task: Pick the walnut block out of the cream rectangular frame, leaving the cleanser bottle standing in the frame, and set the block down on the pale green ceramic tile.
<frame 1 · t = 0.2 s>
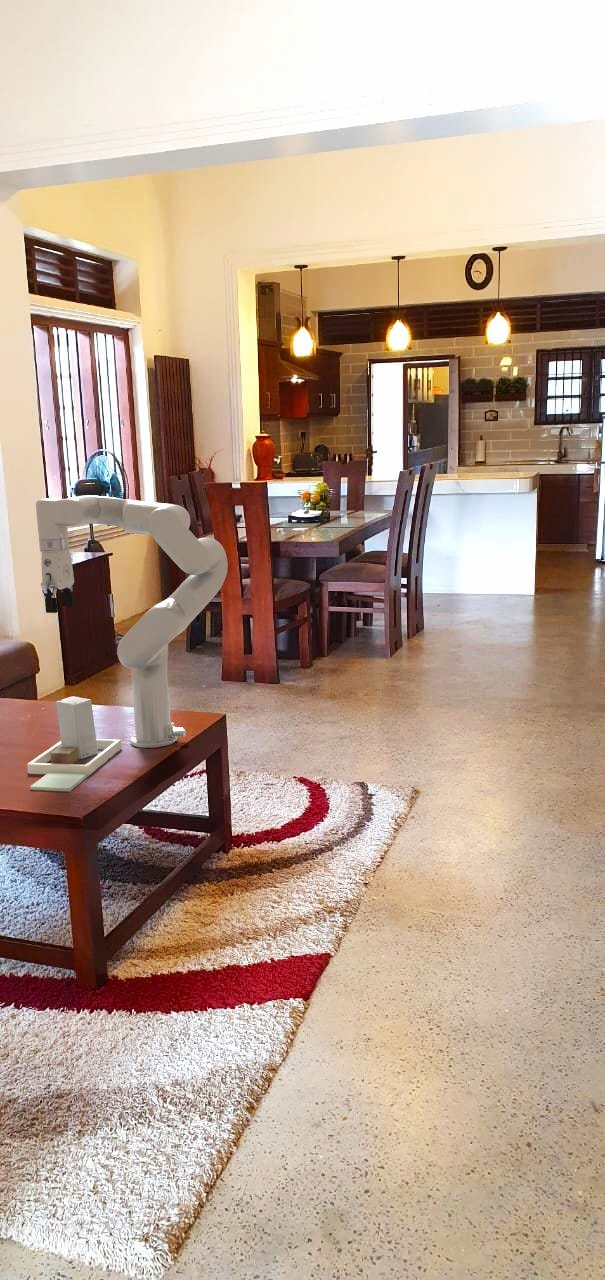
hand: (59, 609, 256), 36 cm above the table, tool pointing down, fingers open, 9 cm apart
walnut block: (66, 769, 239), resting in cream rectangular frame
skincare box: (79, 755, 250), resting in cream rectangular frame
cream rectangular frame: (76, 760, 245), on the table
tile: (59, 783, 229), on the table
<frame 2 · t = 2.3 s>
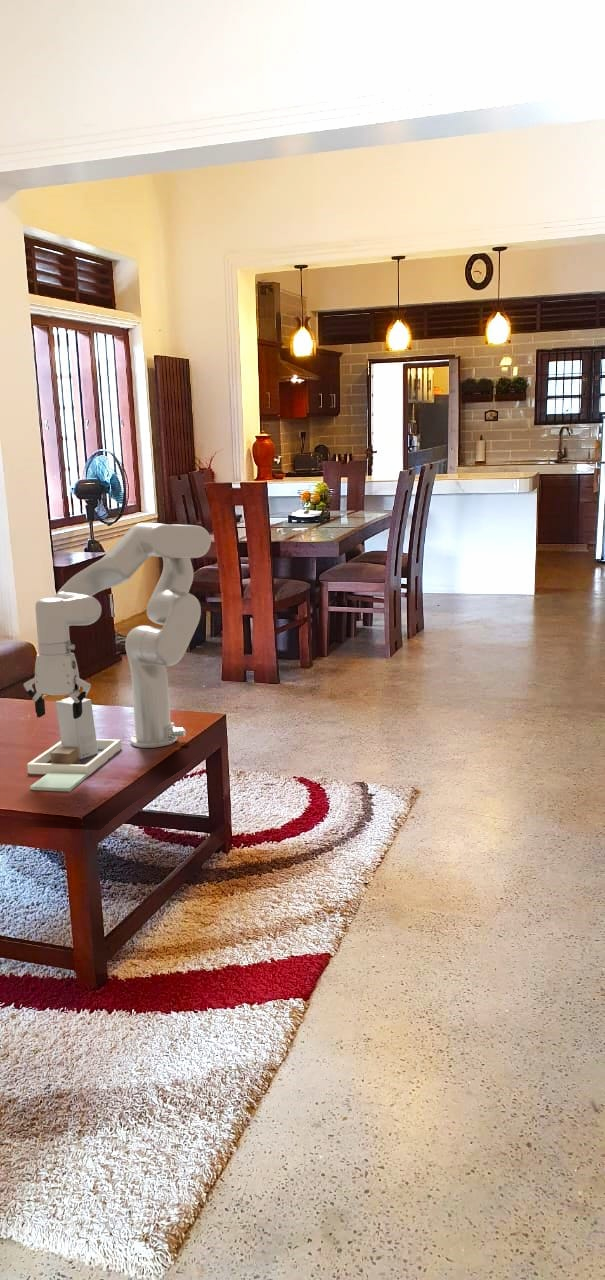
hand: (59, 716, 236), 14 cm above the table, tool pointing down, fingers open, 9 cm apart
nothing on the table moved.
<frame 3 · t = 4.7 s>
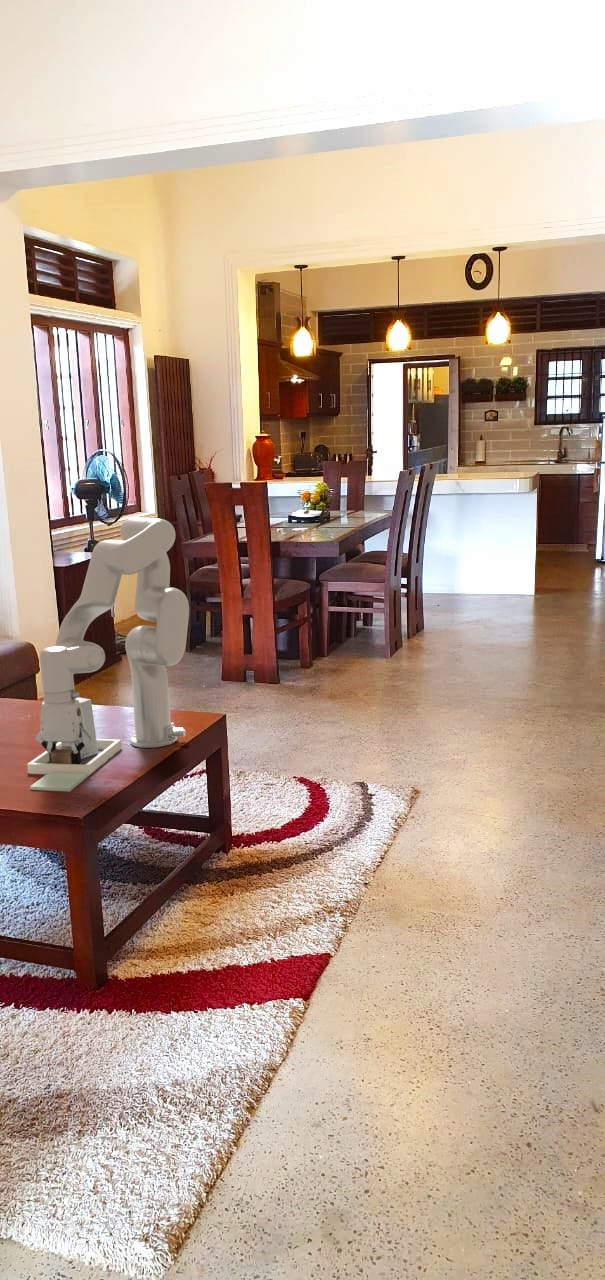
hand: (65, 766, 239), 1 cm above the table, tool pointing down, fingers closed on walnut block, 5 cm apart
walnut block: (66, 768, 239), resting in cream rectangular frame, touching gripper
everything else where it was.
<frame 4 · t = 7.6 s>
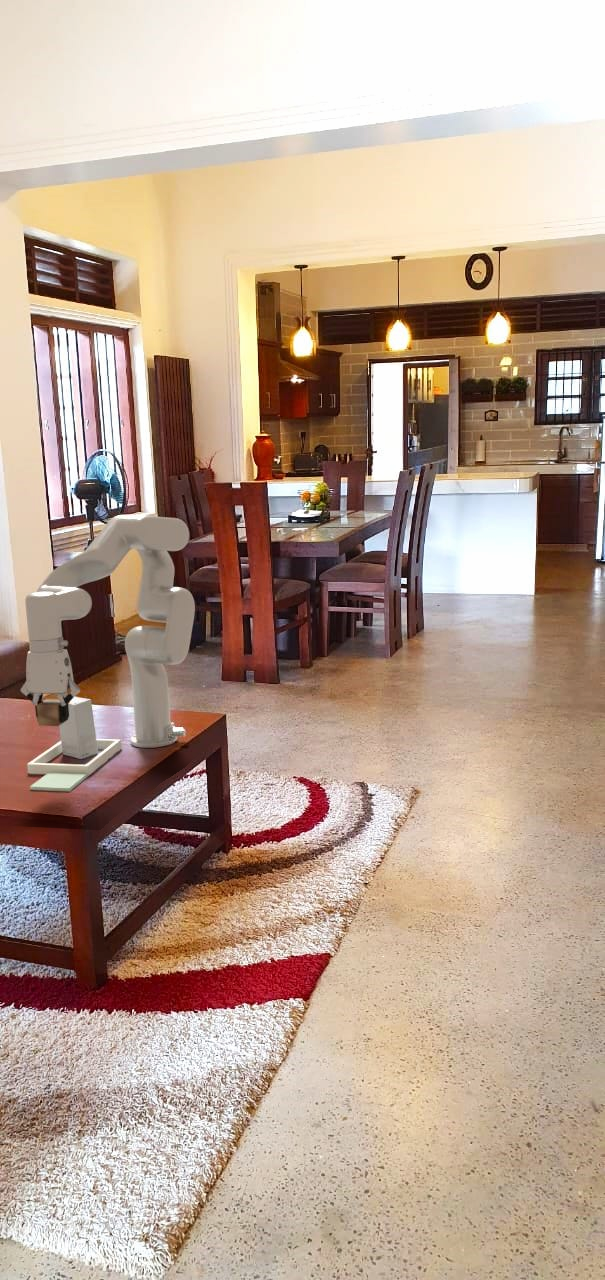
hand: (52, 719, 226), 16 cm above the table, tool pointing down, fingers closed on walnut block, 5 cm apart
walnut block: (53, 722, 226), point 15 cm above the table, touching gripper
everything else where it was.
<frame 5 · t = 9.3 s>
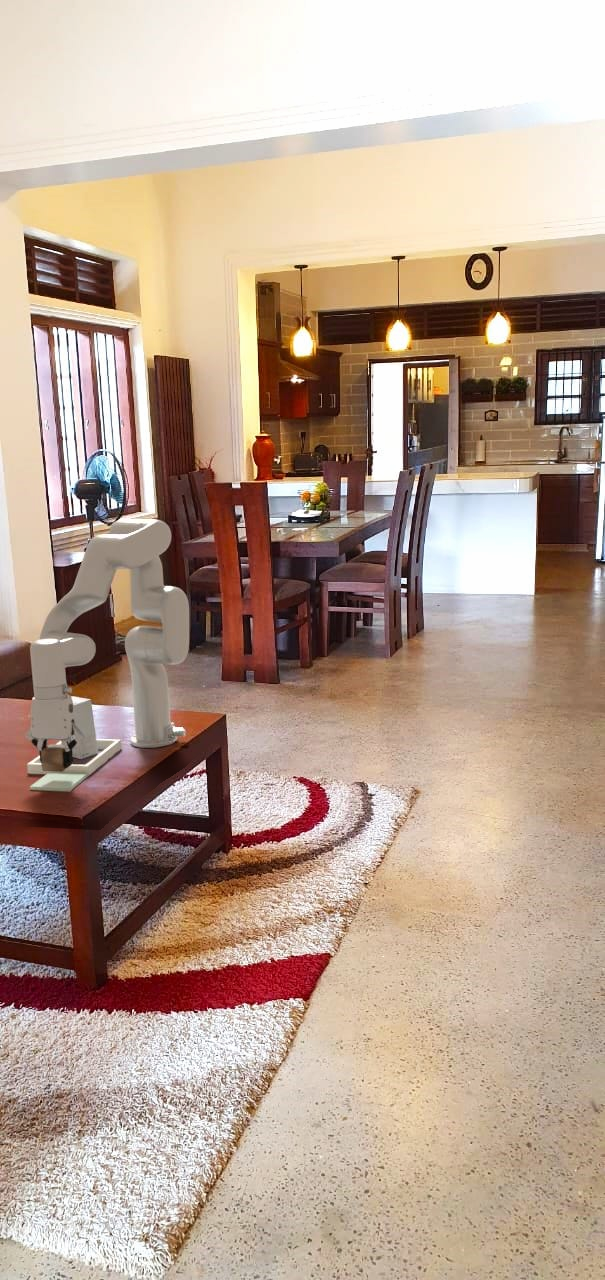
hand: (57, 764, 228), 5 cm above the table, tool pointing down, fingers closed on walnut block, 5 cm apart
walnut block: (57, 767, 228), point 4 cm above the table, touching gripper
everything else where it was.
when the fingers open (3 cm above the table, at t = 10.6 s): walnut block drops 1 cm, resting on tile.
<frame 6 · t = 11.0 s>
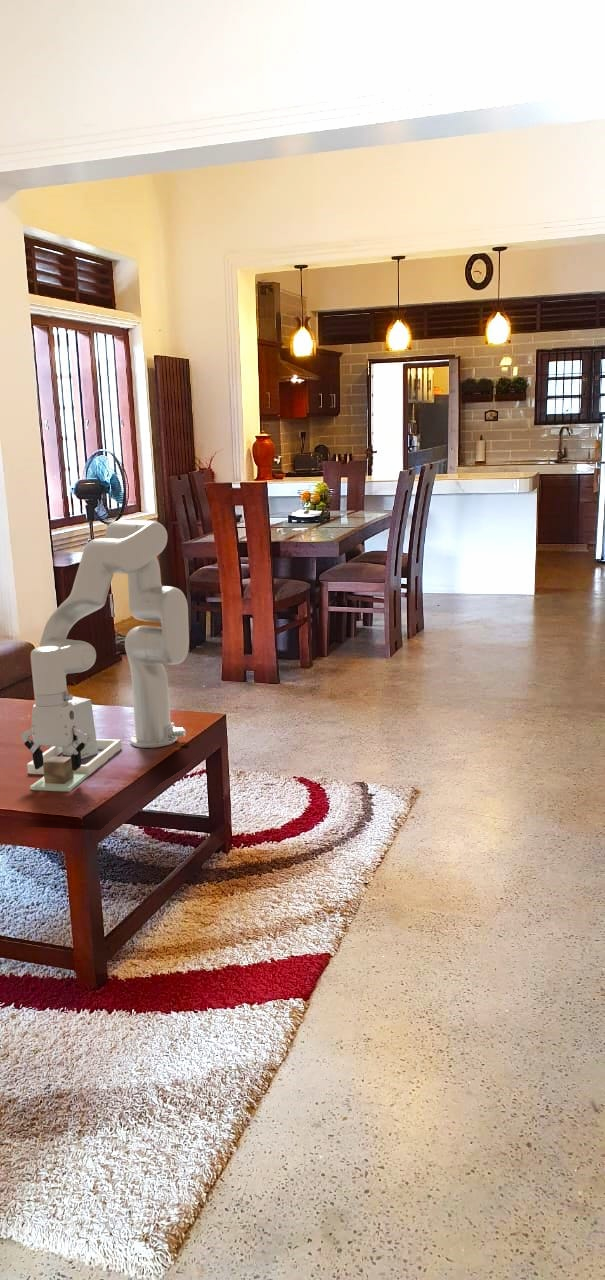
hand: (57, 768, 228), 4 cm above the table, tool pointing down, fingers open, 9 cm apart
walnut block: (59, 779, 229), point 1 cm above the table, touching tile
everything else where it was.
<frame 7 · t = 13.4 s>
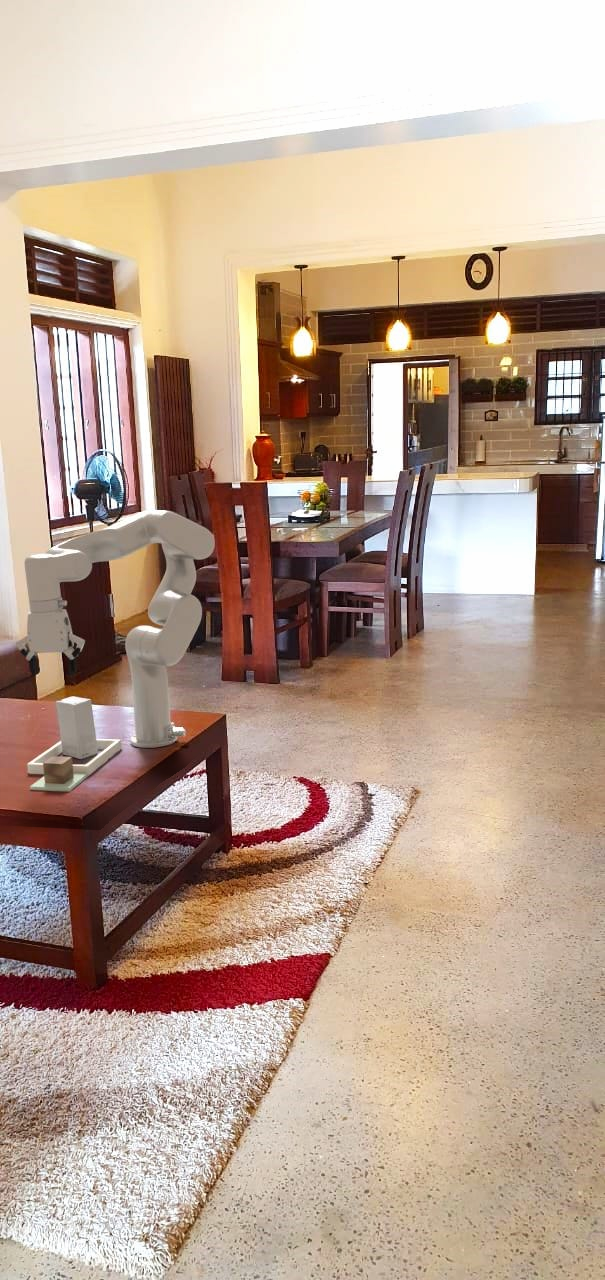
hand: (54, 674, 234), 24 cm above the table, tool pointing down, fingers open, 9 cm apart
nothing on the table moved.
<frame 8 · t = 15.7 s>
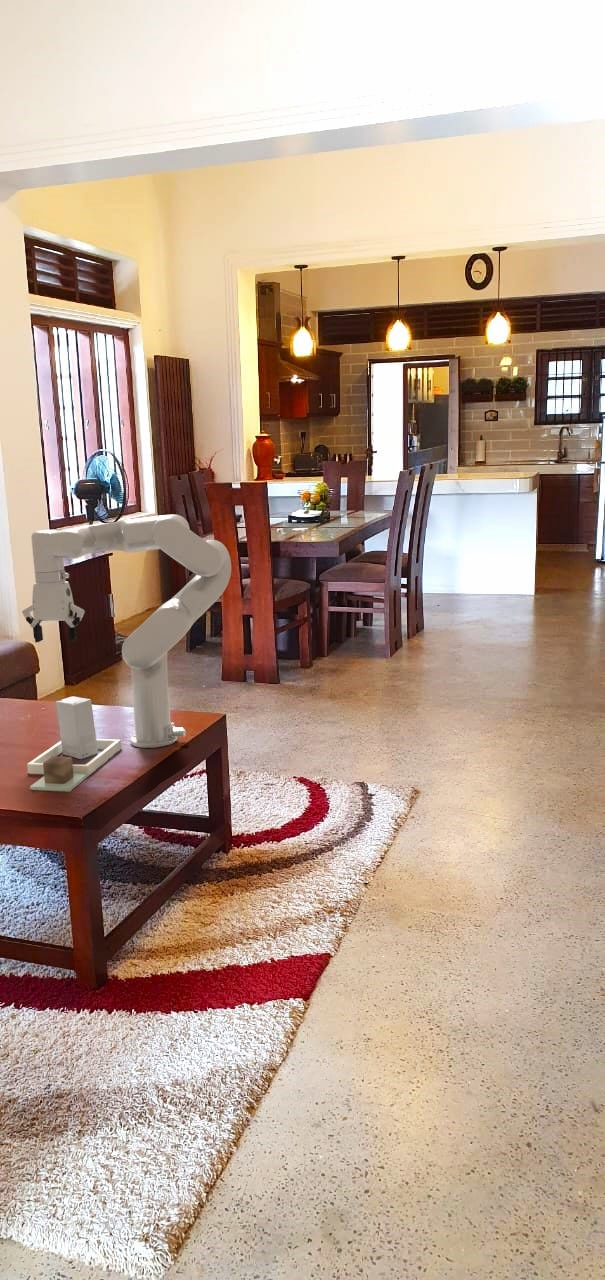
hand: (55, 641, 254), 28 cm above the table, tool pointing down, fingers open, 9 cm apart
nothing on the table moved.
at the end: walnut block inside the target area on the tile (0.1 cm from its centre), point 0.8 cm above the tile's base; walnut block tilted 0°; the gripper is holding nothing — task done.
